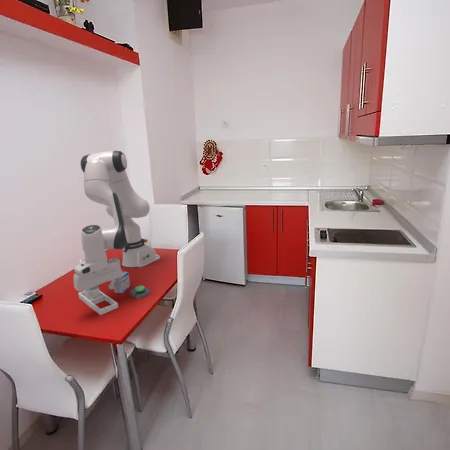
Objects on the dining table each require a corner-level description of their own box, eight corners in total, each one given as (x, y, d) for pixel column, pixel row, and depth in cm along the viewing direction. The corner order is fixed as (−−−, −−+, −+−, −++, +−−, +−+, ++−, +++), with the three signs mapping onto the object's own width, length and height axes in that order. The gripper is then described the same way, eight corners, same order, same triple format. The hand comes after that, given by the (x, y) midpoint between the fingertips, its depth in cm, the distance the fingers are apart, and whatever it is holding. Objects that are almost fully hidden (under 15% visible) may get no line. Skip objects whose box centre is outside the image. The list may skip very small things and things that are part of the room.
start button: (142, 292, 156) (141, 284, 155) (147, 295, 153) (146, 287, 152) (134, 295, 153) (133, 287, 152) (138, 298, 150) (137, 290, 149)
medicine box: (123, 295, 155) (121, 278, 153) (114, 294, 156) (112, 278, 154) (130, 287, 163) (128, 271, 160) (122, 287, 164) (120, 271, 161)
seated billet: (93, 294, 155) (90, 277, 153) (100, 300, 150) (98, 282, 147) (84, 297, 153) (81, 280, 150) (92, 303, 147) (89, 285, 145)
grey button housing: (143, 291, 158) (142, 285, 157) (151, 296, 153) (150, 290, 152) (130, 296, 153) (129, 291, 152) (138, 301, 148) (137, 295, 148)
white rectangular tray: (95, 292, 158) (94, 287, 158) (118, 309, 142) (117, 303, 141) (79, 299, 153) (78, 293, 152) (100, 316, 137) (99, 310, 136)
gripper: (115, 254, 147) (119, 282, 151) (69, 268, 133) (75, 298, 137) (122, 258, 143) (126, 286, 146) (75, 272, 129) (81, 303, 133)
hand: (101, 292), depth 142 cm, fingers open, 8 cm apart
